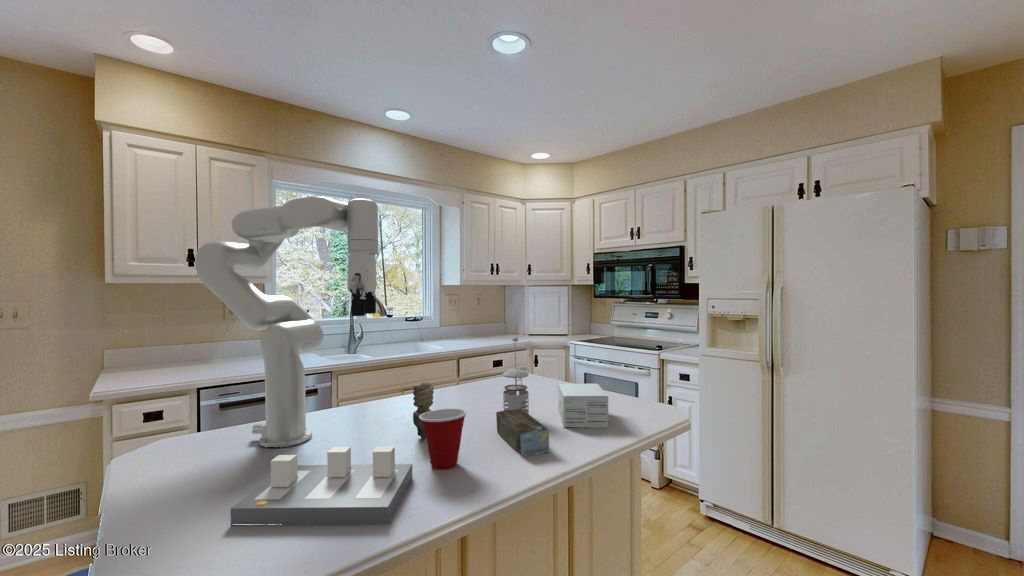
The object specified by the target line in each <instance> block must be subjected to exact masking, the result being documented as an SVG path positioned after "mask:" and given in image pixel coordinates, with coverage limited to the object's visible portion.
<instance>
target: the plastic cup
mask: <svg viewBox="0 0 1024 576" xmlns="http://www.w3.org/2000/svg"><path fill="white" fill-rule="evenodd" d="M466 415H467V409H466V410H465V409H462V408H441V409H440V408H439V409H433V410H431V411H429V412H426V413H423V414H421V415H419V419H420V420H421V422H422V425H423V428H424V431H425V436H426V438H425V440H426V447H427V452H428V455H429V462H430V465H431V468H433V469H436V470H438V471H439V470H441V471H442V470H443V471H444V470H449V469H452V468H455V467H456V466H457V462H458V459H459V452H460V449H461V448H460V447H461V441H462V440H461V439H462V432H463V427H464V422H465V417H466Z"/></svg>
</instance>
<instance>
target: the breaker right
mask: <svg viewBox="0 0 1024 576" xmlns="http://www.w3.org/2000/svg"><path fill="white" fill-rule="evenodd" d="M395 449H396V448H395V445H394V446H391V445H390V446H376V447H375V448H374V449H373V451H372V464H373V474H372V477H391V475H392V474H393V472H394V471H395V464H396V462H395V461H396V458H395V457H396V452H395V451H396V450H395Z"/></svg>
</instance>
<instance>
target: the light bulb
mask: <svg viewBox="0 0 1024 576" xmlns="http://www.w3.org/2000/svg"><path fill="white" fill-rule="evenodd" d="M412 389H413V392H412V395H413V396H414V397H412V398H413V401H414V402H413V406H414V407H416V408H417V409H416V410H415V411H413V413H412V421H413V425H414V426H415V427H416V430H417V436H419V437H420V438H421V439H422V440H423V439H426V436H425V431H424V428H423V425H422V422H421V420H420V419H419V415H421V414H423V413H426V412H429V411H432V410H431V409H430V407H431V406H432V405H433V404H434V401H433V400H434V396H433V395H434V394H435V393H434V392H435V391H434V389H435V386H434V384H433V383H430V382H422V383H421V384H420V385H414V386H413V387H412Z"/></svg>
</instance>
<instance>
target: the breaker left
mask: <svg viewBox="0 0 1024 576" xmlns="http://www.w3.org/2000/svg"><path fill="white" fill-rule="evenodd" d="M297 465H298V454H278V455H277V456H275V457H274V458H273V459H271V460H270V477H271V483H270V487H289V486H291V485H292V484H293V483H294V482H295V481H296V480H297V479H298V475H297Z"/></svg>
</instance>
